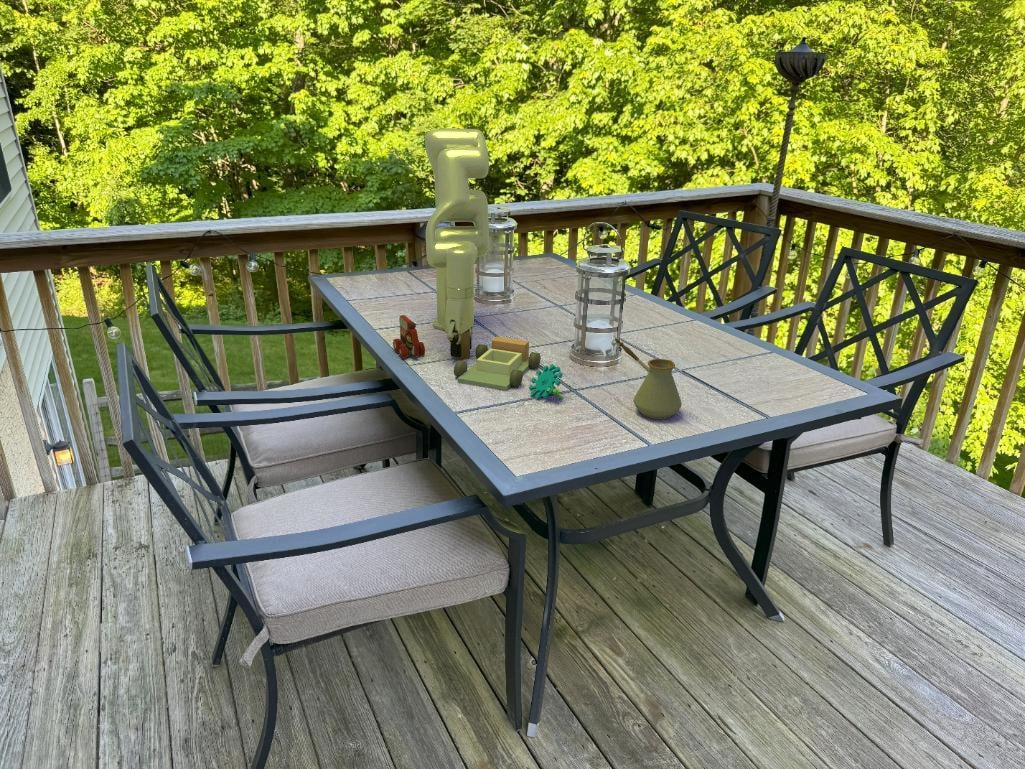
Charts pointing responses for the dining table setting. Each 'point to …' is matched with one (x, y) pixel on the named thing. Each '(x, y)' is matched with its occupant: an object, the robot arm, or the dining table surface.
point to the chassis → (498, 364)
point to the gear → (546, 382)
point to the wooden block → (464, 345)
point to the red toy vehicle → (408, 339)
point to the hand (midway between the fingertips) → (461, 352)
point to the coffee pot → (656, 388)
